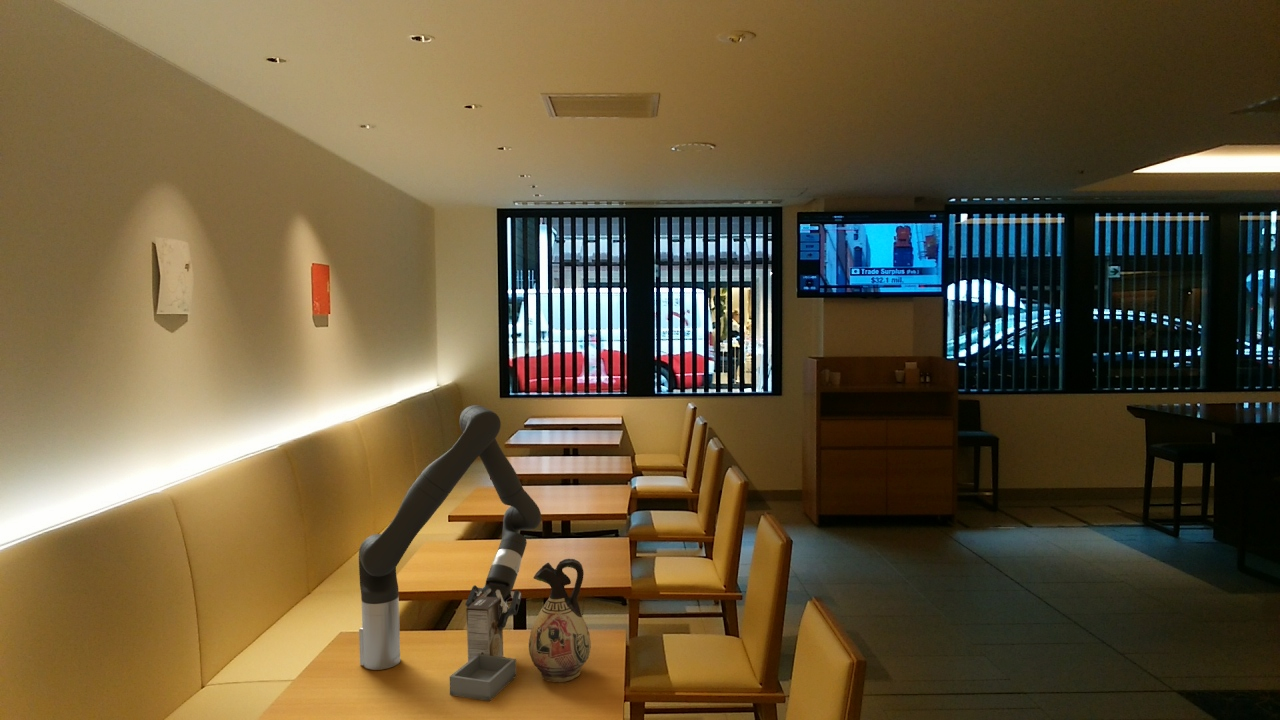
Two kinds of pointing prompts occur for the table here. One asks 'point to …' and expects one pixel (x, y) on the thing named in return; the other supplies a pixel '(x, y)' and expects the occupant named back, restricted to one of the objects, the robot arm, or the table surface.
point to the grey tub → (482, 677)
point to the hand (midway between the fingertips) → (484, 626)
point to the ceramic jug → (560, 627)
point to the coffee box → (484, 627)
